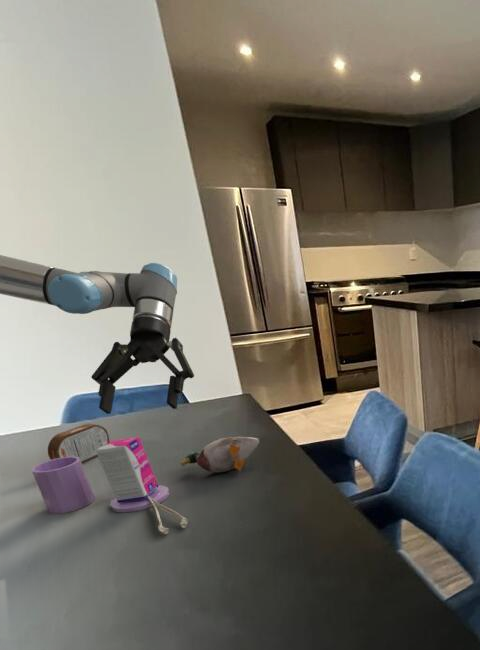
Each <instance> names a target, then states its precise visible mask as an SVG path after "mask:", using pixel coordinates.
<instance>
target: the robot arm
mask: <svg viewBox="0 0 480 650" xmlns="http://www.w3.org/2000/svg"><path fill="white" fill-rule="evenodd" d="M177 288H178V277H177V275H176V274H175V272H174V271H173V270H172V269H171V268H170V267H168V266H166V265H164V264H162V263H157V262H149V263H148V264H144V265H143V266H142V267H141V269H140V272H132V273H131V272H128V273H124V272H109V271H99V270H90V271H80V272H75V271H71V270H66V269H62V268H58V267H54V266H49V265H45V264H41V263H37V262H34V261H33V262H32V261H28V260H23V259H19V258H15V257H11V256H7V255H3V254H0V295H2V296H3V295H4V296H8V297H13V298H18V299H23V300H26V301H32V302H37V303H40V304H46V305H51V306H54V307H57V308H58V309H60V310H61V311H63V312H65V313H67V314H72V315H73V314H74V315H76V314H77V315H78V314H79V315H85V314H90V313H93V312H97V311H100V310H106V309H110V308H134V309H133V314H132V322H131V325H130V331H129V338H130V340H129V342H128V343H127V344H123V343H122V344H121V342H120V341H115V342H114V343H113V345H112V348H111V350H110V352H109V353H108V354H107V356H106V357H105V358H104V359H103V361H102V362H101V363H100V364H99V366H98V367H97V369H96V370H95V371H94V372H93V373H92V375H91V379H92V380H93V381H95V382H96V383H97V384H98V385H99V388H98V396H99V397H100V400H99V405H98V409H100V410H101V411H102V412H104V413H105V414H106V415H110V414H112V409H113V403H114V398H115V393H116V387H117V386H115V385H114V384H115V383H117V382H118V381H119V380H120V379H121V378H122V377H123V376H125V374H127V373H128V372H129V371H130V370H131V369H132V368H133V367H137V366H138V365H139V364H140V363H141V364H146V363H156V362H157V361H159V360H160V361H161V362H162V363H163V364H164V366H166V367H167V369H169V371H170V372H171V373H172V374H173V375H170V376H169V382H168V389H167V396H166V397H167V398H166V404H167V405H168V406H169V407H170V408H171V409H173V410H175V409H178V401H179V394H182V393H183V392H184V383H185V381H186V379H193V378H194V377H195V373H194V371H193V369H192V367H191V365H190V364H189V362H188V360H187V358H186V356H185V354H184V345H183V343H181V341H180V340H179V339H178V338H177V337H173V338H172V339H171V333H172V331H171V329H172V324H173V323H172V322H173V316H174V308H175V303H176V298H177V295H178V290H177ZM170 339H171V341H170ZM169 350H171V351H173V352H174V355H175V357H176V359H177V361H178V363H179V365H180V367H181V369H182V370H179V369H178V368H177V367H176V366H175V364H174V363H173V362H172V361H170V359H168V357H166V355H165V354H166V353H167V352H168V351H169ZM132 357H133V358H134V359H133V358H132Z"/></svg>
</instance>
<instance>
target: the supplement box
mask: <svg viewBox="0 0 480 650" xmlns="http://www.w3.org/2000/svg"><path fill="white" fill-rule="evenodd" d="M96 453H97V455H98V456H97V458H98V460H99V462H100V464H101V466H102V470H103V471H104V474H105V476H106V478H107V480H108V483H109V485H110V487H111V490H112V493H113V494H114V498H116V499H117V502H118V503H123V502H128V501H134V500H141V499H145V498H146V497H147V496H148V495H149V494H150V493H152V492H153V491H154V490H155V489H156V488H158V485H159V483H158V481H157V478H156V476H155V474H154V471H153V468H152V466H151V463H150V461H149V458H148V455H147V453H146V451H145V448H144V446H143V442H142V440H141V438H140V436H134V437H128V438H122V439H114V440H111V441H109V443H107V444H106V445H104V446H102V447H100V448H99V449H97V450H96Z"/></svg>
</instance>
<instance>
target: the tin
mask: <svg viewBox="0 0 480 650" xmlns="http://www.w3.org/2000/svg"><path fill="white" fill-rule="evenodd" d="M109 435H110V434H109V433H108V430H107V428H105V427H104V426H102V425H100V424H94V423H84V424H82V425H81V424H80V425H79V426H76V427H73V428H71V429H67V430H65V431H62V432H59V433H57V434H55V435H54V436H53V437H52V438H51V439H50V441H49V442H48V446H47V455H48V457H49V460H53V459H57V458H62V457H71V456H73V457H78V458H80V460H81V463H82V464H84V463H86V462H88V461H89V460H92V459H95V458H98V455H97V453H96V450H97V449H99V448H100V447H102V446H104V445H106V444H107V443H109V442H110V436H109Z"/></svg>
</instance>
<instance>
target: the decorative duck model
mask: <svg viewBox="0 0 480 650" xmlns="http://www.w3.org/2000/svg"><path fill="white" fill-rule="evenodd" d="M259 443H260V439H259V438H257V437H252V436H241V435H240V436H238V435H235V436H224V437H220V438H216V439H214V440H212V441H211V442H210V443H208V444H207V445H205V447H203V449H202V450H201V451H200V453H199V452H197V451H193V452H190V453H188V454H187V455H186V457H185V458H184V459H183V461H181V462H180V465H181V467H185V466H186V465H188V464H197V465H198V466H199V467H200V468H202V469H204V470H205V471H208V472H211V473H225V472H230V471H233V470H235V469H236V470H238V472H241V470H242V468H243V466H244V465H245V463H246V462H247V461H248V459H249V458H250V457H251V456H252V455H253V453H254V452H255V450H256V449H257V448H258V445H259Z"/></svg>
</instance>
